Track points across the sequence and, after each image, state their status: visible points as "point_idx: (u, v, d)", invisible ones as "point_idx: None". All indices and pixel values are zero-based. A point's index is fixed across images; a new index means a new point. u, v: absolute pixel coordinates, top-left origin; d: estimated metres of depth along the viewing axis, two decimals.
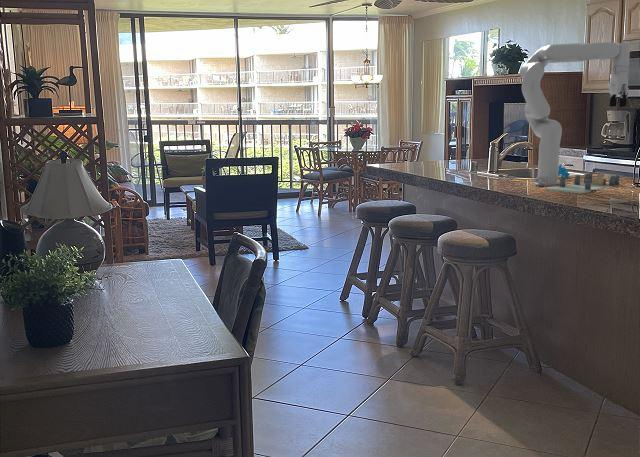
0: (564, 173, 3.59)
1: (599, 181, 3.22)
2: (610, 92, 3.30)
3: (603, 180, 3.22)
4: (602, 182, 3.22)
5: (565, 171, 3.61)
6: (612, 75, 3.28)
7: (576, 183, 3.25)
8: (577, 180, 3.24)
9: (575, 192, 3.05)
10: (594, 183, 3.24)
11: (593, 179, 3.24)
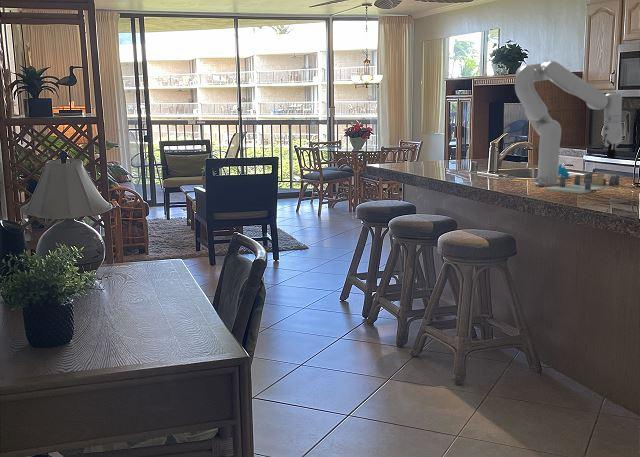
0: (564, 173, 3.59)
1: (599, 181, 3.22)
2: (614, 141, 3.23)
3: (603, 180, 3.22)
4: (602, 182, 3.22)
5: (565, 171, 3.61)
6: (615, 124, 3.22)
7: (576, 183, 3.25)
8: (577, 180, 3.24)
9: (575, 192, 3.05)
10: (594, 183, 3.24)
11: (593, 179, 3.24)
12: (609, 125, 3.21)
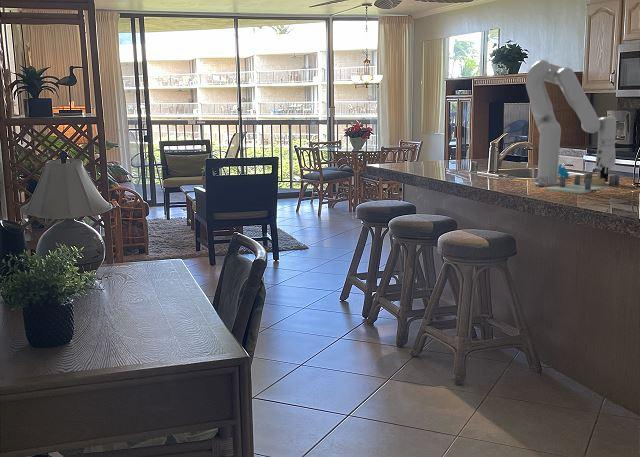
0: (563, 173, 3.60)
1: (598, 181, 3.22)
2: (607, 165, 3.23)
3: (602, 180, 3.22)
4: (601, 182, 3.22)
5: (565, 171, 3.62)
6: (609, 148, 3.22)
7: (576, 183, 3.25)
8: (577, 180, 3.24)
9: (575, 192, 3.05)
10: (593, 183, 3.24)
11: (592, 179, 3.24)
12: (603, 149, 3.21)
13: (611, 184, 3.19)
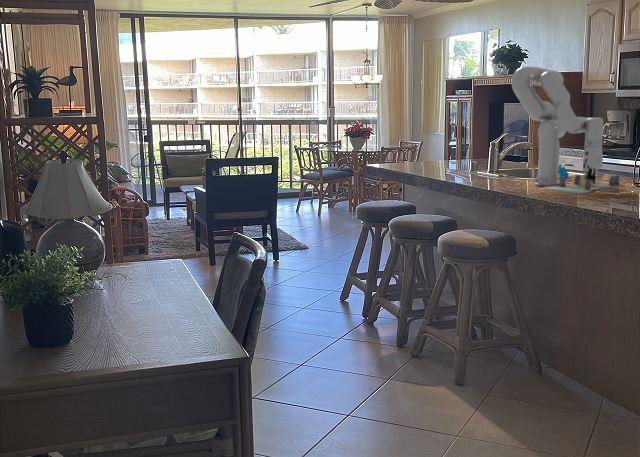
0: (563, 173, 3.60)
1: None
2: (594, 167, 3.16)
3: None
4: None
5: (564, 171, 3.62)
6: (596, 149, 3.15)
7: (576, 183, 3.25)
8: (577, 180, 3.24)
9: (575, 192, 3.05)
10: (580, 185, 3.17)
11: (579, 181, 3.17)
12: (590, 150, 3.14)
13: (611, 184, 3.19)
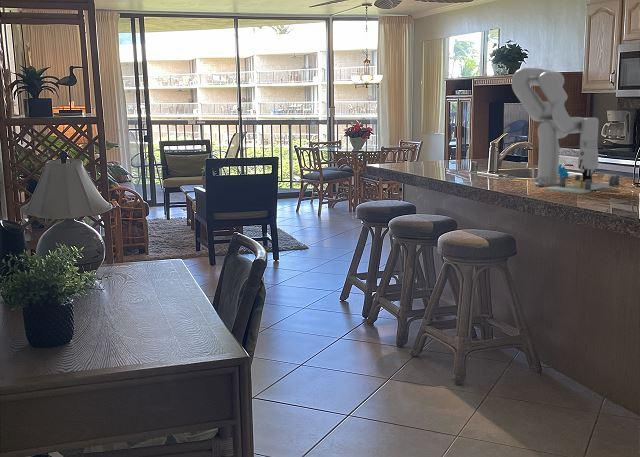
0: (563, 173, 3.60)
1: (581, 184, 3.12)
2: (589, 167, 3.14)
3: None
4: (584, 185, 3.13)
5: (564, 171, 3.62)
6: (591, 150, 3.13)
7: None
8: None
9: (575, 192, 3.05)
10: (576, 186, 3.14)
11: (575, 182, 3.15)
12: (585, 150, 3.12)
13: (611, 184, 3.19)
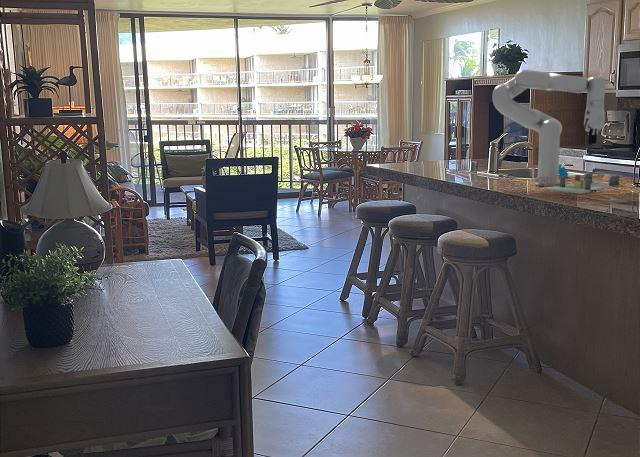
0: (562, 173, 3.60)
1: (581, 184, 3.12)
2: (595, 126, 3.17)
3: None
4: (584, 185, 3.13)
5: (564, 171, 3.62)
6: (597, 109, 3.16)
7: None
8: None
9: (575, 192, 3.05)
10: (576, 186, 3.14)
11: (575, 182, 3.15)
12: (591, 109, 3.16)
13: (611, 184, 3.19)
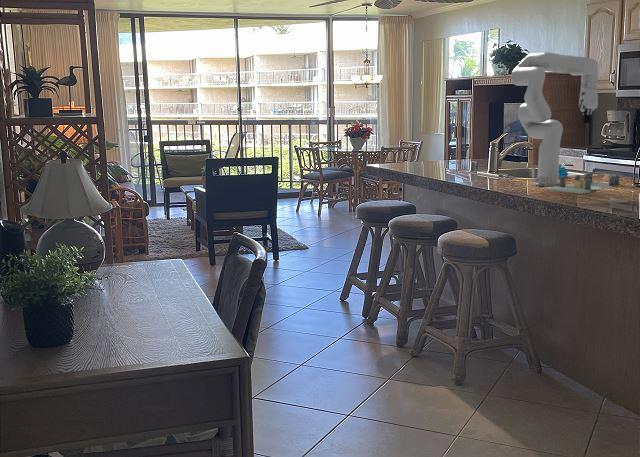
0: (562, 173, 3.60)
1: (581, 184, 3.12)
2: (589, 107, 3.39)
3: None
4: (584, 185, 3.13)
5: (564, 171, 3.62)
6: (591, 90, 3.38)
7: None
8: None
9: (575, 192, 3.05)
10: (576, 186, 3.14)
11: (575, 182, 3.15)
12: (585, 91, 3.37)
13: (611, 184, 3.19)
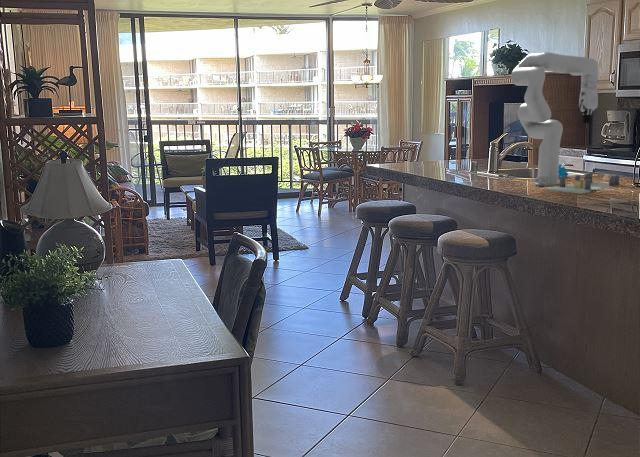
0: (562, 173, 3.60)
1: (581, 184, 3.12)
2: (589, 107, 3.39)
3: None
4: (584, 185, 3.13)
5: (564, 171, 3.62)
6: (591, 90, 3.38)
7: None
8: None
9: (575, 192, 3.05)
10: (576, 186, 3.14)
11: (575, 182, 3.15)
12: (585, 91, 3.37)
13: (611, 184, 3.19)
